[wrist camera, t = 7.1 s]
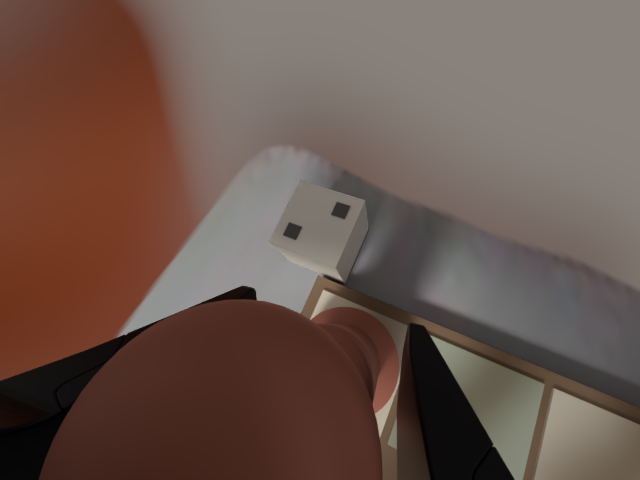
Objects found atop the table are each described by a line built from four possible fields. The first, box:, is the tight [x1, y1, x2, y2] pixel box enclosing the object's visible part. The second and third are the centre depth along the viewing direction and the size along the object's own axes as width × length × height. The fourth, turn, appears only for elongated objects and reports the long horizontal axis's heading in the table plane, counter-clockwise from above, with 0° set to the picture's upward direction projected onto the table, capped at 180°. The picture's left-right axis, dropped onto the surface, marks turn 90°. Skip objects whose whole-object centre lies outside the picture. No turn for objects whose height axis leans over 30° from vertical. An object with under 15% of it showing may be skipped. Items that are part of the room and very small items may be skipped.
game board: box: [301, 275, 640, 480], centre depth 14 cm, size 19×12×1 cm, turn 66°
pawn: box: [39, 299, 399, 480], centre depth 9 cm, size 5×5×15 cm
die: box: [269, 180, 369, 284], centre depth 18 cm, size 4×4×4 cm
